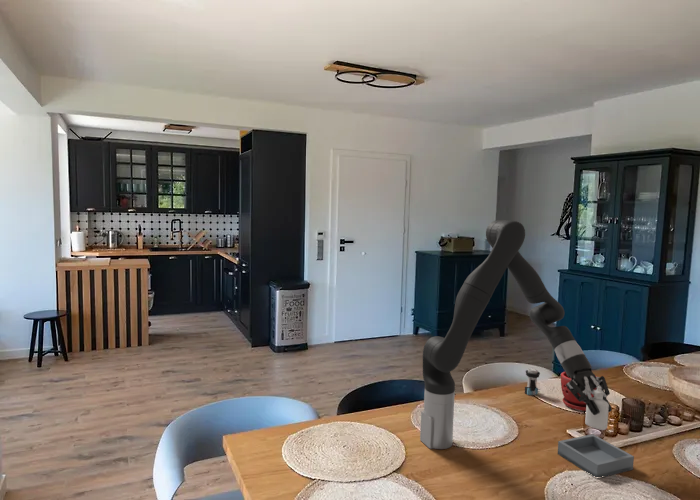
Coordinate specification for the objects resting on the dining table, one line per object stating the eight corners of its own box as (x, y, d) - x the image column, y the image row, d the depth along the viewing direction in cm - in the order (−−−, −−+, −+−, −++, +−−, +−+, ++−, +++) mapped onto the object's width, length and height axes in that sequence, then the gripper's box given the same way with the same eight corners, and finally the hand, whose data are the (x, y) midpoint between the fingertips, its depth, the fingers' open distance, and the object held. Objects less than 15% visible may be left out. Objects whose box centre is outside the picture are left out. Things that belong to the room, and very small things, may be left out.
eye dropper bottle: (594, 421, 142) (597, 382, 141) (609, 430, 137) (612, 389, 135) (582, 423, 141) (585, 384, 139) (597, 431, 135) (600, 391, 134)
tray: (596, 478, 130) (597, 465, 130) (557, 453, 143) (558, 441, 143) (632, 469, 135) (633, 456, 135) (591, 446, 148) (592, 434, 148)
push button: (535, 390, 194) (537, 366, 193) (544, 395, 188) (545, 371, 188) (521, 391, 192) (523, 367, 191) (529, 397, 187) (531, 372, 186)
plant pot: (599, 404, 181) (601, 374, 180) (595, 416, 170) (598, 384, 169) (562, 396, 188) (564, 367, 187) (556, 407, 177) (558, 376, 176)
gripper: (562, 355, 141) (593, 411, 131) (597, 351, 146) (630, 404, 136) (547, 366, 146) (576, 421, 136) (582, 362, 152) (612, 414, 142)
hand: (603, 412), depth 136 cm, fingers closed on eye dropper bottle, 4 cm apart
